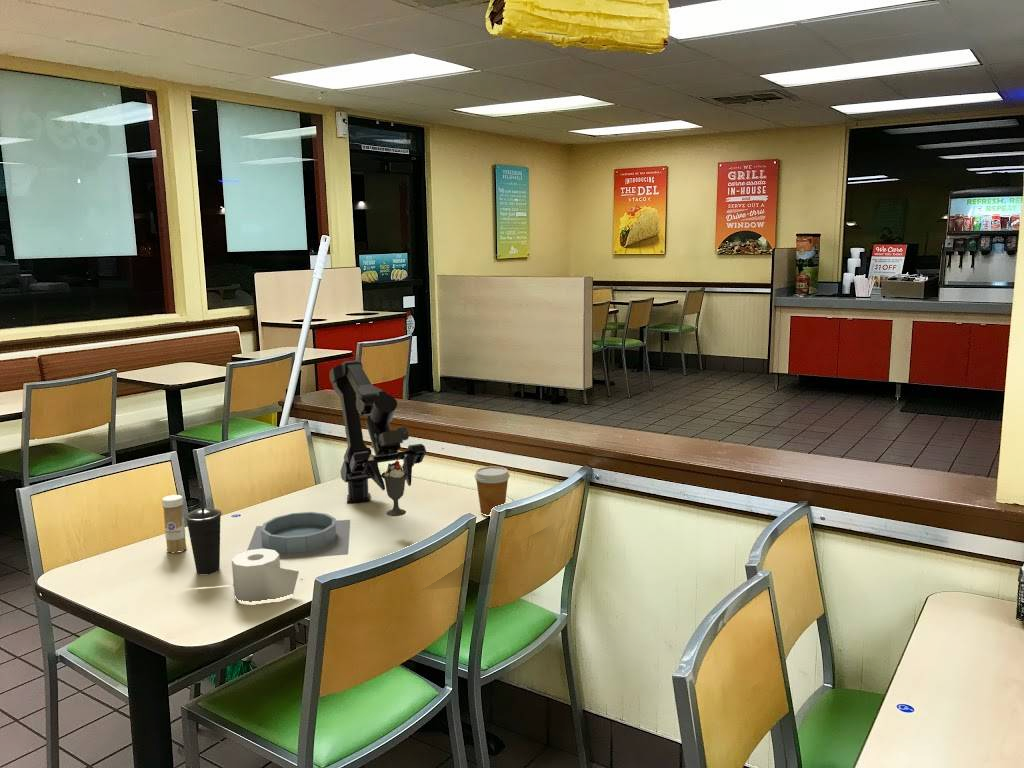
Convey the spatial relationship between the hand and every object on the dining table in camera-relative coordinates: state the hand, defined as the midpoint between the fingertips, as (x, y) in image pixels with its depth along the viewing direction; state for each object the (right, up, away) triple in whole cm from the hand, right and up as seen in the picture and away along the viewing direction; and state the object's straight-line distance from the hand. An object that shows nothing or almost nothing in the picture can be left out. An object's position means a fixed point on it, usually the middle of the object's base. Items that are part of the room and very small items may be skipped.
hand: (397, 487), depth 197 cm
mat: (-24, -14, +1) cm, 28 cm away
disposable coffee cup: (+23, -10, +19) cm, 32 cm away
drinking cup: (-40, -17, -16) cm, 47 cm away
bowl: (-24, -13, +1) cm, 28 cm away
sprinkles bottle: (-53, -15, -4) cm, 55 cm away
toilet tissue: (-24, -19, -29) cm, 42 cm away
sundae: (-1, -7, +3) cm, 7 cm away
